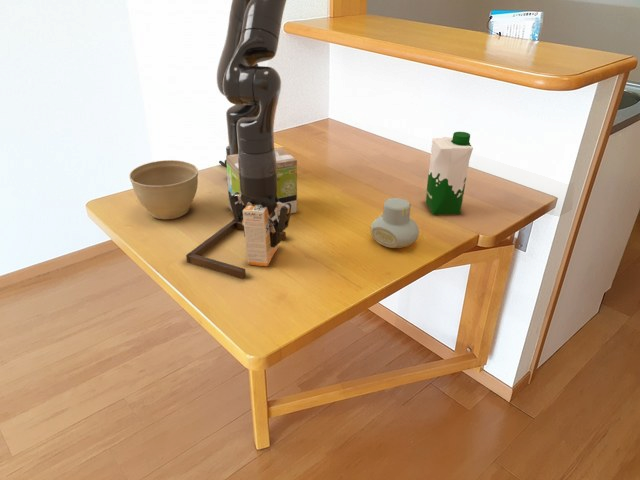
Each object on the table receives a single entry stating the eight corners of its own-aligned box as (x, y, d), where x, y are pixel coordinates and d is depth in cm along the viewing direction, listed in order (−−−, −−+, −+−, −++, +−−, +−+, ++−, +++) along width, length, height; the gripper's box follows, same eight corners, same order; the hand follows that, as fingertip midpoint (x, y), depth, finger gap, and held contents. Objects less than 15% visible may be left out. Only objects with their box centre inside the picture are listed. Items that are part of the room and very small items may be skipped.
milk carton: (464, 215, 130) (477, 140, 120) (430, 216, 129) (440, 140, 119) (454, 200, 138) (465, 128, 127) (421, 201, 137) (429, 128, 127)
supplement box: (268, 267, 108) (264, 212, 102) (247, 265, 109) (241, 210, 103) (279, 247, 115) (276, 194, 109) (259, 245, 116) (254, 193, 110)
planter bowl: (160, 233, 121) (153, 191, 115) (124, 212, 130) (116, 172, 124) (215, 211, 131) (211, 171, 125) (178, 192, 140) (173, 155, 135)
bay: (186, 262, 110) (185, 255, 109) (234, 225, 124) (234, 218, 124) (242, 279, 105) (242, 271, 104) (286, 238, 119) (285, 231, 118)
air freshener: (364, 240, 119) (366, 201, 114) (384, 227, 124) (387, 190, 119) (403, 257, 113) (407, 217, 108) (423, 243, 118) (428, 204, 113)
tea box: (242, 225, 124) (238, 168, 117) (229, 208, 132) (224, 154, 125) (298, 212, 130) (297, 158, 123) (282, 197, 138) (280, 145, 131)
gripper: (298, 169, 103) (299, 242, 111) (237, 157, 108) (243, 228, 116) (280, 182, 97) (283, 258, 105) (216, 170, 102) (224, 243, 110)
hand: (262, 242), depth 111 cm, fingers closed on supplement box, 5 cm apart
